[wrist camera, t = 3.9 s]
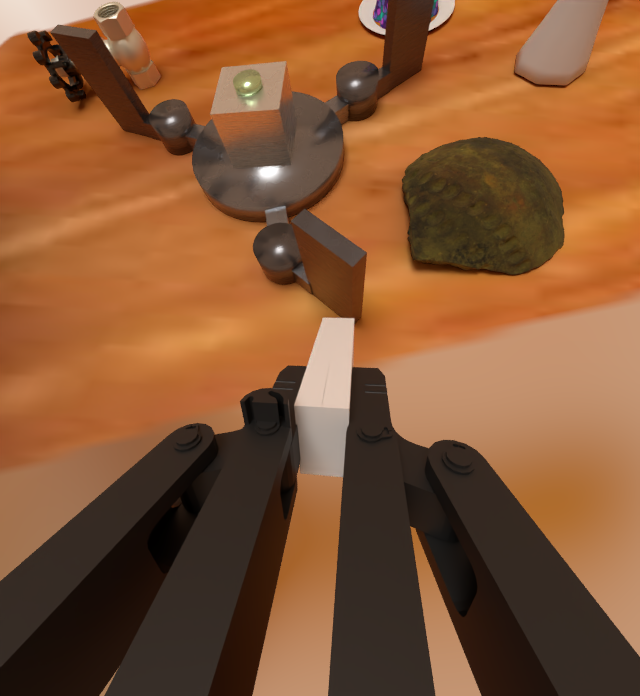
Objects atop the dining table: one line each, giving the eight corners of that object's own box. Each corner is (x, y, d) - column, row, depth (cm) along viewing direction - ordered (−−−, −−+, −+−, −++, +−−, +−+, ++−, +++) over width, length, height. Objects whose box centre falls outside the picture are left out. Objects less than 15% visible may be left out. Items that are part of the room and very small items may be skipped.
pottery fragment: (539, 152, 28) (572, 103, 24) (565, 279, 24) (610, 246, 20) (398, 157, 30) (406, 113, 26) (399, 277, 25) (409, 246, 21)
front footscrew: (254, 266, 27) (209, 189, 18) (286, 236, 28) (257, 148, 19) (339, 339, 24) (333, 286, 15) (373, 304, 24) (385, 234, 16)
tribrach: (80, 247, 30) (-28, 173, 21) (138, 90, 37) (75, -13, 29) (431, 242, 26) (471, 146, 17) (420, 64, 33) (445, -66, 24)
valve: (162, 62, 39) (81, 83, 39) (126, -10, 32) (30, 17, 33) (163, 92, 37) (77, 115, 37) (124, 22, 30) (22, 50, 31)
